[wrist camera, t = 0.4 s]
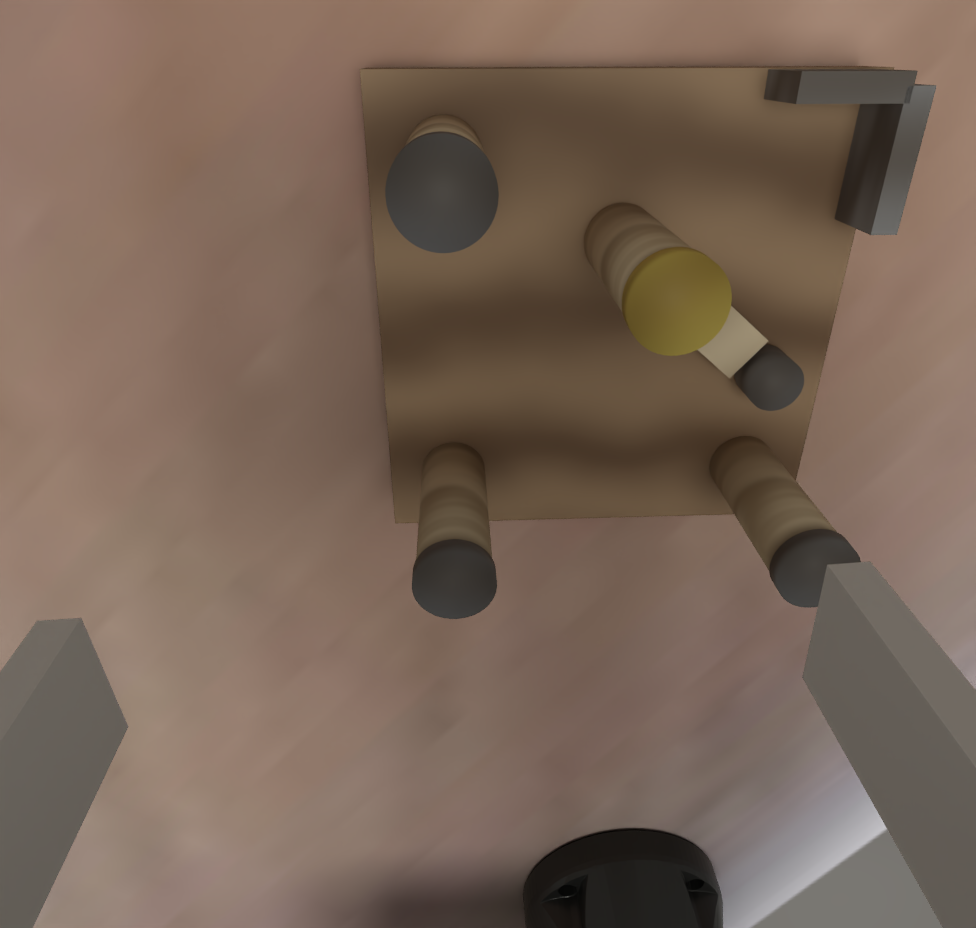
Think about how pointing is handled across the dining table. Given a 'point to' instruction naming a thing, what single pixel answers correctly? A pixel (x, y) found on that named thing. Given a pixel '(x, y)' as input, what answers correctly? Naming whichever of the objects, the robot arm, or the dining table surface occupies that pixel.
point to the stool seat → (591, 309)
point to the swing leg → (684, 303)
